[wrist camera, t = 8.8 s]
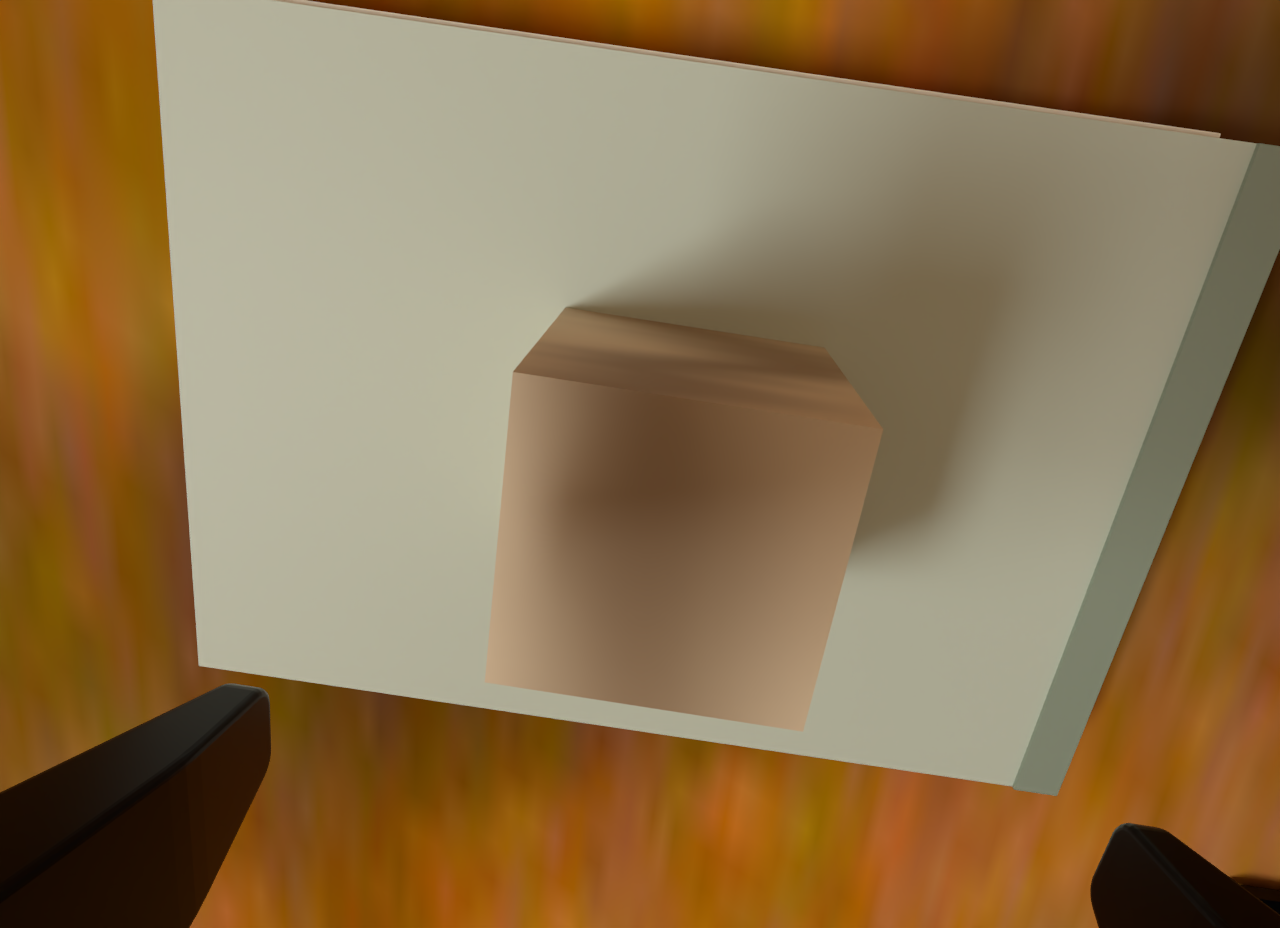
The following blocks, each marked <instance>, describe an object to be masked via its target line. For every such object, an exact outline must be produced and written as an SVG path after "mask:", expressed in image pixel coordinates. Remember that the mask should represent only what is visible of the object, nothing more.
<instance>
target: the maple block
mask: <svg viewBox="0 0 1280 928" xmlns="http://www.w3.org/2000/svg"><path fill="white" fill-rule="evenodd" d="M882 433H883V428H882V427H881V425H880V424H879V422H878V421H877V420H876V418H875V417H874V416H873V414H872V413H871V411H870V410H869V409H868V407H867V406H866V404H865V403H864V402H863V400H862V399H861V397H860V396H859V395H858V393H857V392H856V391H855V389H854V388H853V386H852V385H851V384H850V382H849V381H848V379H847V378H846V377H845V375H844V374H843V372H842V371H841V370H840V368H839V367H838V366H837V364H836V363H835V361H834V360H833V359H832V357H831V356H830V354H829V353H828V352H827V350H826V349H825V348H824V347H818V346H811V345H805V344H798V343H792V342H785V341H779V340H772V339H766V338H760V337H753V336H747V335H740V334H734V333H727V332H721V331H714V330H708V329H701V328H695V327H689V326H682V325H676V324H669V323H663V322H656V321H650V320H643V319H637V318H630V317H624V316H618V315H611V314H605V313H598V312H592V311H585V310H579V309H572V308H566V307H565V309H564V310H563V311H562V312H561V313H560V315H559V316H558V317H557V318H556V320H555V321H554V322H553V323H552V325H551V326H550V327H549V328H548V329H547V331H546V332H545V333H544V334H543V336H542V337H541V338H540V339H539V340H538V342H537V343H536V344H535V345H534V347H533V348H532V349H531V350H530V351H529V353H528V354H527V355H526V356H525V358H524V359H523V360H522V361H521V362H520V364H519V365H518V366H517V367H516V369H515V370H514V371H513V376H512V387H511V398H510V409H509V420H508V431H507V442H506V453H505V464H504V475H503V486H502V497H501V508H500V519H499V530H498V541H497V552H496V563H495V574H494V585H493V596H492V607H491V618H490V629H489V640H488V651H487V662H486V673H485V682H486V683H492V684H499V685H505V686H512V687H518V688H524V689H531V690H537V691H544V692H550V693H557V694H563V695H570V696H576V697H582V698H589V699H595V700H602V701H608V702H615V703H621V704H628V705H634V706H641V707H647V708H653V709H660V710H666V711H673V712H679V713H686V714H692V715H699V716H705V717H711V718H718V719H724V720H731V721H737V722H744V723H750V724H757V725H763V726H770V727H776V728H782V729H789V730H795V731H802V732H803V730H804V726H805V723H806V719H807V715H808V711H809V707H810V704H811V700H812V696H813V692H814V689H815V685H816V681H817V677H818V674H819V670H820V666H821V662H822V659H823V655H824V651H825V647H826V643H827V640H828V636H829V632H830V628H831V625H832V621H833V617H834V613H835V610H836V606H837V602H838V598H839V595H840V591H841V587H842V583H843V579H844V576H845V572H846V568H847V564H848V561H849V557H850V553H851V549H852V546H853V542H854V538H855V534H856V531H857V527H858V523H859V519H860V515H861V512H862V508H863V504H864V500H865V497H866V493H867V489H868V485H869V482H870V478H871V474H872V470H873V467H874V463H875V459H876V455H877V451H878V448H879V444H880V440H881V436H882Z"/></svg>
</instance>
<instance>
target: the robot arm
mask: <svg viewBox="0 0 1280 928" xmlns="http://www.w3.org/2000/svg"><path fill="white" fill-rule="evenodd" d="M270 755H271V733H270V701H269V696H268V694H267V692H266V691H265V690H263V689H262V688H258V687H252V686H245V685H239V684H225V685H222V686H220V687H217V688H215V689H213V690H211V691H209V692H207V693H205V694H203V695H201V696H199V697H197V698H195V699H193V700H191V701H188V702H186V703H184V704H182V705H180V706H178V707H176V708H174V709H172V710H170V711H168V712H166V713H164V714H162V715H160V716H157V717H155V718H153V719H151V720H149V721H147V722H145V723H143V724H141V725H139V726H137V727H135V728H133V729H131V730H129V731H126V732H124V733H122V734H120V735H118V736H116V737H114V738H112V739H110V740H108V741H106V742H104V743H102V744H100V745H98V746H95V747H93V748H91V749H89V750H87V751H85V752H83V753H81V754H79V755H77V756H75V757H73V758H71V759H69V760H67V761H64V762H62V763H60V764H58V765H56V766H54V767H52V768H50V769H48V770H46V771H44V772H42V773H40V774H38V775H36V776H33V777H31V778H29V779H27V780H25V781H23V782H21V783H19V784H17V785H15V786H13V787H11V788H9V789H7V790H5V791H2V792H0V928H189V927H190V926H191V924H192V922H193V920H194V919H195V917H196V915H197V913H198V911H199V909H200V907H201V906H202V904H203V902H204V900H205V898H206V896H207V894H208V892H209V890H210V888H211V886H212V884H213V882H214V880H215V877H216V875H217V873H218V871H219V869H220V867H221V865H222V863H223V861H224V859H225V857H226V855H227V853H228V851H229V849H230V847H231V844H232V842H233V840H234V838H235V836H236V834H237V832H238V830H239V828H240V826H241V824H242V822H243V820H244V818H245V816H246V813H247V811H248V809H249V807H250V805H251V803H252V801H253V799H254V797H255V795H256V793H257V791H258V789H259V787H260V785H261V782H262V780H263V778H264V776H265V774H266V771H267V768H268V765H269V761H270ZM1091 902H1092V907H1093V910H1094V914H1095V917H1096V920H1097V923H1098V927H1099V928H1280V891H1278V890H1272V889H1265V888H1258V887H1252V886H1245V885H1239V884H1238V883H1237V882H1235V881H1234V880H1232V879H1231V878H1230V877H1228V876H1227V875H1226V874H1224V873H1223V872H1222V871H1220V870H1219V869H1218V868H1216V867H1215V866H1214V865H1212V864H1211V863H1210V862H1208V861H1207V860H1206V859H1204V858H1203V857H1201V856H1200V855H1199V854H1197V853H1196V852H1195V851H1193V850H1192V849H1191V848H1189V847H1188V846H1187V845H1185V844H1184V843H1183V842H1181V841H1180V840H1179V839H1177V838H1176V837H1175V836H1173V835H1172V834H1170V833H1169V832H1167V831H1166V830H1163V829H1161V828H1157V827H1151V826H1144V825H1138V824H1132V823H1126V824H1121V825H1120V826H1118V827H1117V828H1116V829H1115V831H1114V832H1113V834H1112V836H1111V838H1110V841H1109V843H1108V845H1107V847H1106V849H1105V852H1104V854H1103V856H1102V858H1101V860H1100V863H1099V865H1098V867H1097V869H1096V871H1095V874H1094V876H1093V879H1092V883H1091Z"/></svg>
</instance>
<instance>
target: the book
mask: <svg viewBox="0 0 1280 928" xmlns="http://www.w3.org/2000/svg"><path fill="white" fill-rule="evenodd" d="M153 13H154V27H155V42H156V56H157V70H158V85H159V99H160V114H161V128H162V142H163V157H164V171H165V185H166V200H167V214H168V229H169V243H170V257H171V272H172V286H173V301H174V315H175V329H176V344H177V358H178V372H179V387H180V401H181V416H182V430H183V444H184V459H185V473H186V488H187V502H188V516H189V531H190V545H191V559H192V574H193V588H194V603H195V617H196V631H197V646H198V660H199V666H204V667H211V668H217V669H224V670H231V671H238V672H244V673H251V674H258V675H264V676H271V677H278V678H285V679H291V680H298V681H305V682H312V683H318V684H325V685H332V686H339V687H345V688H352V689H359V690H366V691H372V692H379V693H386V694H393V695H399V696H406V697H413V698H420V699H426V700H433V701H440V702H447V703H453V704H460V705H467V706H474V707H480V708H487V709H494V710H500V711H507V712H514V713H521V714H527V715H534V716H541V717H548V718H554V719H561V720H568V721H575V722H581V723H588V724H595V725H602V726H608V727H615V728H622V729H629V730H635V731H642V732H649V733H656V734H662V735H669V736H676V737H683V738H689V739H696V740H703V741H710V742H716V743H723V744H730V745H737V746H743V747H750V748H757V749H763V750H770V751H777V752H784V753H790V754H797V755H804V756H811V757H817V758H824V759H831V760H838V761H844V762H851V763H858V764H865V765H871V766H878V767H885V768H892V769H898V770H905V771H912V772H919V773H925V774H932V775H939V776H946V777H952V778H959V779H966V780H973V781H979V782H986V783H993V784H999V785H1006V786H1012V787H1013V789H1014V790H1020V791H1027V792H1034V793H1041V794H1047V795H1054V796H1057V794H1058V792H1059V790H1060V787H1061V785H1062V782H1063V780H1064V777H1065V775H1066V772H1067V770H1068V767H1069V765H1070V763H1071V760H1072V758H1073V755H1074V753H1075V750H1076V748H1077V745H1078V743H1079V740H1080V738H1081V736H1082V733H1083V731H1084V728H1085V726H1086V723H1087V721H1088V718H1089V716H1090V713H1091V711H1092V709H1093V706H1094V704H1095V701H1096V699H1097V696H1098V694H1099V691H1100V689H1101V686H1102V684H1103V682H1104V679H1105V677H1106V674H1107V672H1108V669H1109V667H1110V664H1111V662H1112V659H1113V657H1114V655H1115V652H1116V650H1117V647H1118V645H1119V642H1120V640H1121V637H1122V635H1123V632H1124V630H1125V628H1126V625H1127V623H1128V620H1129V618H1130V615H1131V613H1132V610H1133V608H1134V605H1135V603H1136V601H1137V598H1138V596H1139V593H1140V591H1141V588H1142V586H1143V583H1144V581H1145V578H1146V576H1147V574H1148V571H1149V569H1150V566H1151V564H1152V561H1153V559H1154V556H1155V554H1156V551H1157V549H1158V547H1159V544H1160V542H1161V539H1162V537H1163V534H1164V532H1165V529H1166V527H1167V524H1168V522H1169V519H1170V517H1171V515H1172V512H1173V510H1174V507H1175V505H1176V502H1177V500H1178V497H1179V495H1180V492H1181V490H1182V488H1183V485H1184V483H1185V480H1186V478H1187V475H1188V473H1189V470H1190V468H1191V465H1192V463H1193V461H1194V458H1195V456H1196V453H1197V451H1198V448H1199V446H1200V443H1201V441H1202V438H1203V436H1204V434H1205V431H1206V429H1207V426H1208V424H1209V421H1210V419H1211V416H1212V414H1213V411H1214V409H1215V407H1216V404H1217V402H1218V399H1219V397H1220V394H1221V392H1222V389H1223V387H1224V384H1225V382H1226V380H1227V377H1228V375H1229V372H1230V370H1231V367H1232V365H1233V362H1234V360H1235V357H1236V355H1237V353H1238V350H1239V348H1240V345H1241V343H1242V340H1243V338H1244V335H1245V333H1246V330H1247V328H1248V326H1249V323H1250V321H1251V318H1252V316H1253V313H1254V311H1255V308H1256V306H1257V303H1258V301H1259V299H1260V296H1261V294H1262V291H1263V289H1264V286H1265V284H1266V281H1267V279H1268V276H1269V274H1270V272H1271V269H1272V267H1273V264H1274V262H1275V259H1276V257H1277V254H1278V252H1279V249H1280V146H1275V145H1268V144H1261V143H1259V144H1256V143H1250V142H1243V141H1236V140H1229V139H1222V138H1220V135H1221V133H1215V132H1208V131H1201V130H1194V129H1187V128H1180V127H1173V126H1166V125H1160V124H1153V123H1146V122H1139V121H1132V120H1125V119H1118V118H1112V117H1105V116H1098V115H1091V114H1084V113H1077V112H1070V111H1063V110H1057V109H1050V108H1043V107H1036V106H1029V105H1022V104H1015V103H1008V102H1002V101H995V100H988V99H981V98H974V97H967V96H960V95H954V94H947V93H940V92H933V91H926V90H919V89H912V88H905V87H899V86H892V85H885V84H878V83H871V82H864V81H857V80H850V79H844V78H837V77H830V76H823V75H816V74H809V73H802V72H796V71H789V70H782V69H775V68H768V67H761V66H754V65H747V64H741V63H734V62H727V61H720V60H713V59H706V58H699V57H692V56H686V55H679V54H672V53H665V52H658V51H651V50H644V49H638V48H631V47H624V46H617V45H610V44H603V43H596V42H589V41H583V40H576V39H569V38H562V37H555V36H548V35H541V34H534V33H528V32H521V31H514V30H507V29H500V28H493V27H486V26H480V25H473V24H466V23H459V22H452V21H445V20H438V19H431V18H425V17H418V16H411V15H404V14H397V13H390V12H383V11H376V10H370V9H363V8H356V7H349V6H342V5H335V4H328V3H322V2H315V1H308V0H153ZM565 307H566V308H572V309H579V310H585V311H592V312H598V313H605V314H611V315H618V316H624V317H630V318H637V319H643V320H650V321H656V322H663V323H669V324H676V325H682V326H689V327H695V328H701V329H708V330H714V331H721V332H727V333H734V334H740V335H747V336H753V337H760V338H766V339H772V340H779V341H785V342H792V343H798V344H805V345H811V346H818V347H824V348H825V349H826V350H827V352H828V353H829V354H830V356H831V357H832V359H833V360H834V361H835V363H836V364H837V366H838V367H839V368H840V370H841V371H842V372H843V374H844V375H845V377H846V378H847V379H848V381H849V382H850V384H851V385H852V386H853V388H854V389H855V391H856V392H857V393H858V395H859V396H860V397H861V399H862V400H863V402H864V403H865V404H866V406H867V407H868V409H869V410H870V411H871V413H872V414H873V416H874V417H875V418H876V420H877V421H878V422H879V424H880V425H881V427H882V428H883V433H882V436H881V440H880V444H879V448H878V451H877V455H876V459H875V463H874V467H873V470H872V474H871V478H870V482H869V485H868V489H867V493H866V497H865V500H864V504H863V508H862V512H861V515H860V519H859V523H858V527H857V531H856V534H855V538H854V542H853V546H852V549H851V553H850V557H849V561H848V564H847V568H846V572H845V576H844V579H843V583H842V587H841V591H840V595H839V598H838V602H837V606H836V610H835V613H834V617H833V621H832V625H831V628H830V632H829V636H828V640H827V643H826V647H825V651H824V655H823V659H822V662H821V666H820V670H819V674H818V677H817V681H816V685H815V689H814V692H813V696H812V700H811V704H810V707H809V711H808V715H807V719H806V723H805V726H804V730H803V732H802V731H795V730H789V729H782V728H776V727H770V726H763V725H757V724H750V723H744V722H737V721H731V720H724V719H718V718H711V717H705V716H699V715H692V714H686V713H679V712H673V711H666V710H660V709H653V708H647V707H641V706H634V705H628V704H621V703H615V702H608V701H602V700H595V699H589V698H582V697H576V696H570V695H563V694H557V693H550V692H544V691H537V690H531V689H524V688H518V687H512V686H505V685H499V684H492V683H486V682H485V673H486V662H487V651H488V640H489V629H490V618H491V607H492V596H493V585H494V574H495V563H496V552H497V541H498V530H499V519H500V508H501V497H502V486H503V475H504V464H505V453H506V442H507V431H508V420H509V409H510V398H511V387H512V376H513V371H514V370H515V369H516V367H517V366H518V365H519V364H520V362H521V361H522V360H523V359H524V358H525V356H526V355H527V354H528V353H529V351H530V350H531V349H532V348H533V347H534V345H535V344H536V343H537V342H538V340H539V339H540V338H541V337H542V336H543V334H544V333H545V332H546V331H547V329H548V328H549V327H550V326H551V325H552V323H553V322H554V321H555V320H556V318H557V317H558V316H559V315H560V313H561V312H562V311H563V310H564V309H565Z"/></svg>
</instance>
